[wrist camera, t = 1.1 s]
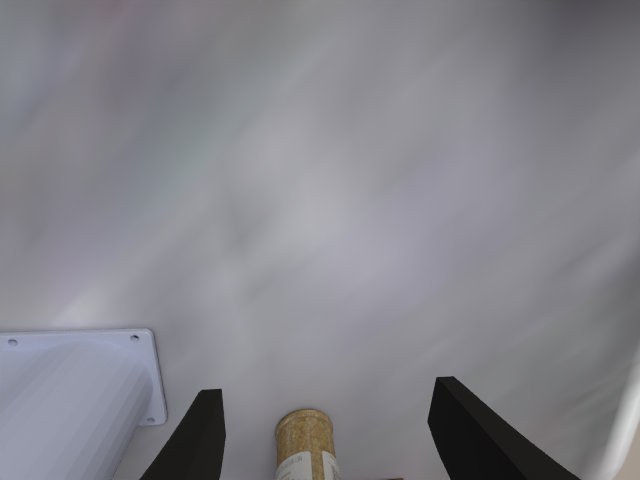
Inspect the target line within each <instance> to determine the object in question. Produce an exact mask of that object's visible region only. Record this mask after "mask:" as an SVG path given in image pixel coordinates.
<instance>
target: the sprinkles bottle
mask: <svg viewBox="0 0 640 480" xmlns="http://www.w3.org/2000/svg"><path fill="white" fill-rule="evenodd" d="M332 435H333V426H332V423H331V421H330V419H329V418H328V417H327V416H326V415H325V414H324V413H322V412H319V411H316V410H313V409H309V410H307V409H304V410H299V411H295V412H293V413H291V414H288V415H287V416H286V417H284V419H283V420H282V421H281V422H280V423H279V424H278V427H277V429H276V440H277V472H276V480H340V473H339V467H338V463H337V461H336V457H335V450H334V443H333V437H332Z"/></svg>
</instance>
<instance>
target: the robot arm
mask: <svg viewBox="0 0 640 480" xmlns="http://www.w3.org/2000/svg"><path fill="white" fill-rule="evenodd" d="M133 335H136V336H138V337H139V338H135V337H134V336H133ZM14 340H16V341H17V342H16V341H14ZM166 419H167V410H166V404H165V398H164V393H163V387H162V381H161V375H160V369H159V364H158V358H157V352H156V346H155V340H154V335H153V332H152V331H151V330H149V329H145V328H141V329H109V330H76V331H43V332H10V333H0V480H112V478H113V476H114V473H115V471H116V469H117V467H118V465H119V463H120V461H121V459H122V457H123V455H124V453H125V451H126V449H127V447H128V445H129V443H130V441H131V438H132V436H133V434H134V432H135V430H136V428H137V426H149V425H161V424H163V423H165V422H166ZM427 422H428V425H429V428H430V431H431V434H432V437H433V439H434V442H435V445H436V448H437V450H438V453H439V456H440V458H441V460H442V462H443V464H444V466H445V468H446V470H447V473H448V475H449V477H450V479H451V480H581V479H579V478H578V477H576V476H575V475H574V474H572V473H571V472H569V471H568V470H567V469H565V468H564V467H562V466H561V465H560V464H558V463H557V462H556V461H554V460H553V459H552V458H551V457H549V456H548V455H547V454H545V453H544V452H543V451H542V450H540V449H539V448H538V447H536V446H535V445H534V444H533V443H531V442H530V441H529V440H528V439H526V438H525V437H524V436H523V435H521V434H520V433H519V432H518V431H516V430H515V429H514V428H513V427H512V426H510V425H509V424H508V423H507V422H506V421H505V420H503V419H502V418H501V417H500V416H499V415H497V414H496V413H495V412H494V411H493V410H492V409H491V408H489V407H488V406H487V405H486V404H485V403H484V402H482V401H481V400H480V399H479V398H478V397H477V396H476V395H474V394H473V393H472V392H471V391H470V390H469V389H468V388H466V387H465V386H464V385H463V384H462V383H461V382H459V381H458V380H457V379H456V378H455V377H453V376H451V377H436V382H435V387H434V392H433V397H432V402H431V406H430V411H429V416H428V421H427ZM225 438H226V432H225V421H224V410H223V399H222V389H210V390H201V391H200V392H199V393H198V395H197V396H196V398H195V400H194V401H193V403H192V405H191V406H190V408H189V410H188V411H187V413H186V414H185V416H184V417H183V419H182V421H181V422H180V424H179V425H178V427H177V428H176V430H175V431H174V433H173V434H172V435H171V437H170V438H169V440H168V441H167V443H166V444H165V445H164V447H163V448H162V450H161V451H160V453H159V454H158V455H157V457H156V458H155V460H154V461H153V462H152V464H151V465H150V466H149V468H148V469H147V470H146V472H145V473H144V474H143V476H142V477H141V478H140V479H139V480H219V478H220V474H221V467H222V460H223V453H224V446H225Z"/></svg>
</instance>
